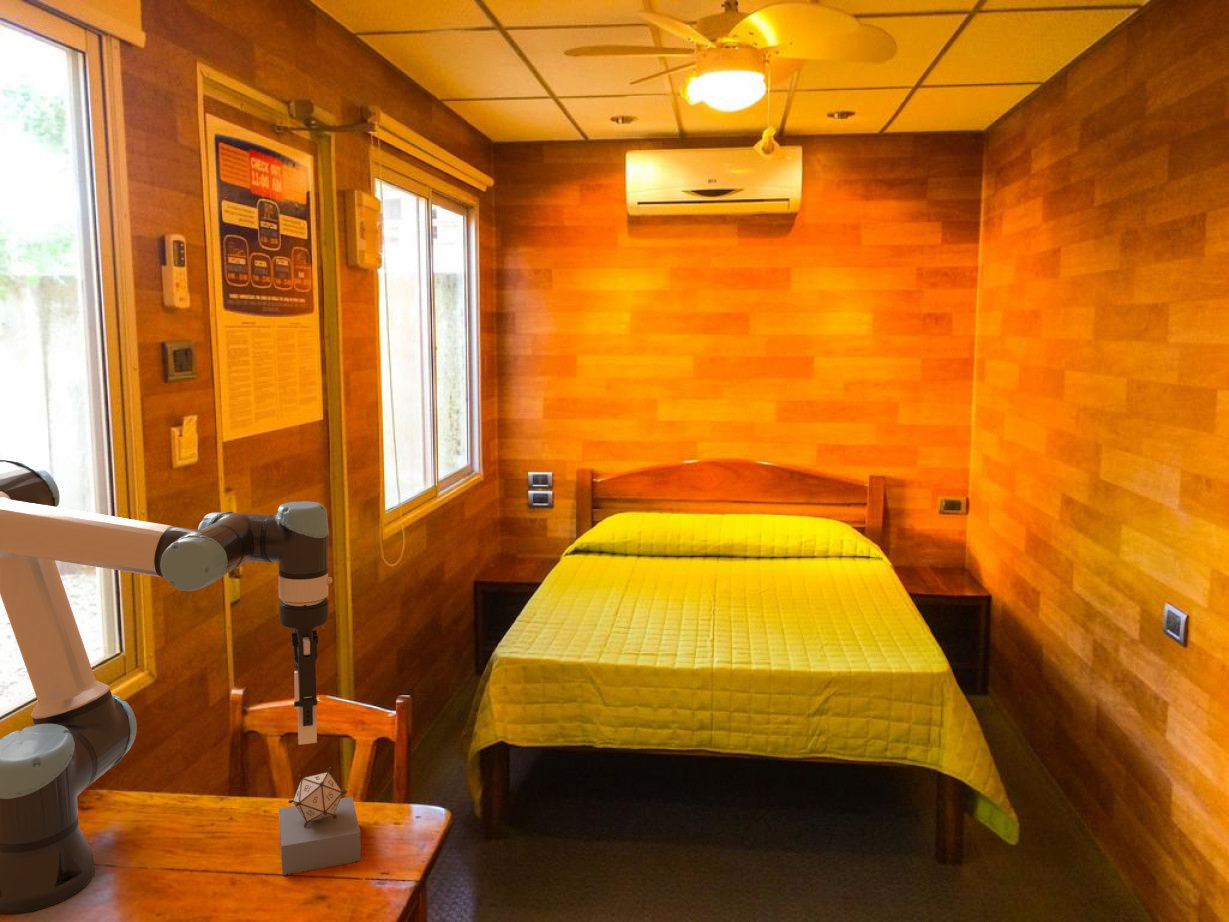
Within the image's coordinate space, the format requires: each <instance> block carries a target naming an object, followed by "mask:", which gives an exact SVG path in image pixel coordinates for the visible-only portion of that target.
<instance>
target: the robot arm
mask: <svg viewBox="0 0 1229 922" xmlns="http://www.w3.org/2000/svg"><path fill="white" fill-rule="evenodd" d="M58 506H60V491H59V488H58V485H57V483H56V481H55V479H54V477H52V475H51V474H50V473H49V471H47V470H46V469H45V468H44V467H42V466H40V465H38V464H37V463H35V462H33V461H31V460H27V459H23V458H8V459H7V458H6V459H0V597H1V600H2V603H3V607H4V609H5V611H6V615H7V617H8V620H9V623H10V626H11V628H12V629H11V630H12V632H13V634H14V637H15V640H16V642H17V646H18V648H19V651H20V655H21V658H22V659H23V662H24V666H25V668H26V672H27V674H28V677H29V680H30V682H31V686H32V688H33V691H34V694H35V698H36V700H37V703H36V705H35V706H34V708H33V710H32V712H31V713H30V716H31V720H32V722H33V725H28V726H25V727H23V729H22V730H14V731H12V732H10V733H8V734H6V735H5V736H2V737H1V738H0V914H10V915H11V914H23V913H28V912H33V911H37V910H41V909H46V908H48V907H51V906H53V905H57V904H59V903H61V902H63V901H66V900H67V899H69V898H71V897H72V896H74V895H76V894H77V893H79V892H80V891H82V889H84V888H85V887H86V886H87V885H88V884H89V883H90V882H91V880H92V879H93V877H94V874H95V873H96V872H95V871H96V869H95V868H96V867H95V865H96V864H95V855H94V852H93V851H92V849H91V846H90V845H89V842H88V841H87V839H86V837H85V835H84V832H83V831H82V829H81V827H80V824H79V809H78V807H79V805H78V796H79V795H80V794H81V793H82V792H83V791H85V790H86V789H88V787H89V786H91V785H92V784H93V783H95V781H96V780H98V779H99V778H100V777H102V776H103V775H105V773H107V772H108V771H109V770H110V769H112V768H114V767H115V766H116V765H117V764H119V762H120V761H121V760H122V759H123V758H124V756H125V755H126V754H127V753H128V752H129V751H130V749H131V747H132V746H133V744H134V742H135V740H136V736H137V730H138V729H137V727H138V725H137V718H136V716H135V713H134V711H133V709H132V707H131V706H130V705H129V703H128V702H127V701H125V700H124V701H123V700H121V697H120V696H119V695H116V694H112V691H111V688H110V686H109V685H108V684H106V683H103V682H101V681H99V680H97V679H96V678H95V675H94V671H93V668H92V665H91V663H90V659H89V657H88V653H87V650H86V647H85V645H84V641H83V639H82V636H81V632H80V630H79V628H78V625H77V622H76V618H75V616H74V612H73V610H72V607H71V606H72V605H71V603H70V601H69V597H68V595H67V592H66V589H65V586H64V583H63V579H62V577H61V575H60V574H61V573H60V571H59V569H58V565H57V563H56V561H59V562H62V563H63V562H64V563H71V564H76V565H81V566H83V565H84V566H87V567H93V568H94V567H95V568H103V569H108V570H114V571H115V570H116V571H121V572H127V573H133V574H140V575H145V576H152V577H159V578H163V579H164V580H165V581H166V582H167V583H168V584H169V585H171V586H172V587H174V588H175V589H177V590H179V591H184V592H185V591H186V592H192V591H198V590H200V589H202V588H205V587H208V586H211V585H213V584H214V583H215V582H217V581H218V580H219V579H221V578H222V577H224V576H225V575H227V574H228V573H231V572H232V571H233V570H235V569H236V568H239V567H240V566H242V565H243V564H245V563H247V562H248V563H249V562H258V563H259V562H260V563H277V564H278V565H277V566H278V599H279V600H281V601H280V602H279V604H278V607H279V609H278V610H279V611H278V612H279V617H278V619H279V624H280V625H281V626H282V627H285V628H287V629H291V630H292V629H294V631H291V632H290V637H291V638H290V640H291V641H290V642H291V648H292V650H293V661H294V662H293V663H294V665H293V668H294V669H295V670H294V702H293V703H294V704H293V707H294V710H297V722H298V723H297V724H298V725H297V727H298V728H297V729H298V730H297V731H298V732H297V738H298V743H297V744H298V746H299V745H308V744H317V743H318V740H317V739H318V735H317V733H318V732H317V731H318V729H317V727H318V725H317V722H318V721H317V716H318V715H317V705H318V703H319V702H318V699H317V698H318V696H317V676H316V675H317V674H316V668H317V666H316V663H317V661H318V649H317V648H318V645H319V636H318V633H317V630H315V628H317V627H321V626H324V625H326V623H328V621H329V619H330V617H329V616H330V611H329V609H330V607H329V606H330V604H329V602H330V601H329V599H327V597H328V596H329V584H331V583H332V582H333V578H332V577H331V576H329V535H330V530H329V522H328V521H329V520H328V511H327V508H326V507H325V506H324V505H323V504H322V503H320V502H316V501H305V500H304V501H291V502H290V501H289V502H285V503H283V504H281V505H279V507H278V509H277V513H276V514H264V513H263V514H262V513H244V512H243V513H242V512H234V511H224V512H210V513H207V514H206V515H205V516H203V519H202V520H201V522H200V523H199V525H198V527H197V529H192V528H187V527H180V526H173V525H168V524H163V523H162V524H161V523H157V522H150V521H146V520H145V521H143V520H139V519H138V520H137V519H133V518H130V519H129V518H124V517H119V516H113V515H108V514H107V515H106V514H100V513H95V512H87V511H80V510H75V509H69V508H63V507H58Z"/></svg>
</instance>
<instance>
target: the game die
mask: <svg viewBox="0 0 1229 922" xmlns="http://www.w3.org/2000/svg"><path fill="white" fill-rule="evenodd" d="M331 770H332V767H331V766H329V767H328V768H327V771H325V772H320V773H317V774H313V775H308V776H304V777H303V775H302V774H298V775H297V776H298V778H299V779H300V781H299V783H298V786H297V788H296V792H295V794H294V797H293V799H289V800H288V801H287V803H289V804H292V803H293V805H294V806H296V807H297V809H298V810H299V812H300V813H301V815H302V816H303V818H304V819H305V821H306V823H305V824H304V828H305V827H306V826H307V825H308V822H311V821H315V820H319V819H323V818H326V817H330V816H333V818H334V819H337V816H336V815H335V811H336V809H337V806H338V803H339V801H340V798H342V795H346V794H347V793H348V792H349V791H348V790H342V788H341V787H340V786H339V784H338V783H337V782H336V780H335V779H334V777H333V776H332V775H331Z"/></svg>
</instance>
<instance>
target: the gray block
mask: <svg viewBox="0 0 1229 922" xmlns="http://www.w3.org/2000/svg"><path fill="white" fill-rule="evenodd" d="M335 815H336V816H337V819H334V818H333V816H330V817H326V818H323V819H319V820H315V821H311V822H308V825H307V826H306V827H305V828H304V824H305V823H306V821H305V819H304V818H303V816H302V815H301V813H300V812H299V810H298V809H297V807H296V806H295V805H292V806H285V807H279V808H278V817H279V818H278V825H279V841H280V842H279V843H280V857H281V874H282V876H287V874H288V875H292V874H291V873H293V874H298V873H303V872H302V871H304V872H308V870H309V871H315V870H319V869H326V868H331V867H336V866H342V865H346V864H352V863H351V862H353V863H356V862H355V861H358V862H361V861H362V857H361V856H362V852H361V851H362V849H361V845H362V844H361V829H360V826H359V821H358V816H357V815H358V814H357V812H356V806H355V802H354V797H353V796H348V797H341V798H340V801H339V803H338V806H337V809H336V811H335ZM360 860H361V861H360ZM314 869H315V870H314Z"/></svg>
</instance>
